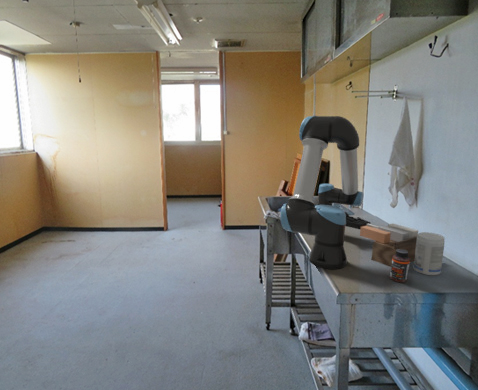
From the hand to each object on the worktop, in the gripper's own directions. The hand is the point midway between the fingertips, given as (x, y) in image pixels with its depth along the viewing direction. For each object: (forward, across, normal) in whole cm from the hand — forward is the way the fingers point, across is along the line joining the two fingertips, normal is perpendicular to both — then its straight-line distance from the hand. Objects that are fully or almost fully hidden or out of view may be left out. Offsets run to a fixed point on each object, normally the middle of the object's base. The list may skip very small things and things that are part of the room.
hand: (379, 230), depth 155 cm
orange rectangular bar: (+3, +7, -2) cm, 8 cm away
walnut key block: (+10, 0, -10) cm, 14 cm away
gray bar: (+6, 0, -2) cm, 7 cm away
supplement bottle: (+22, +18, -10) cm, 31 cm away
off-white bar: (+6, -7, -2) cm, 10 cm away
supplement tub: (+23, +1, -10) cm, 26 cm away
